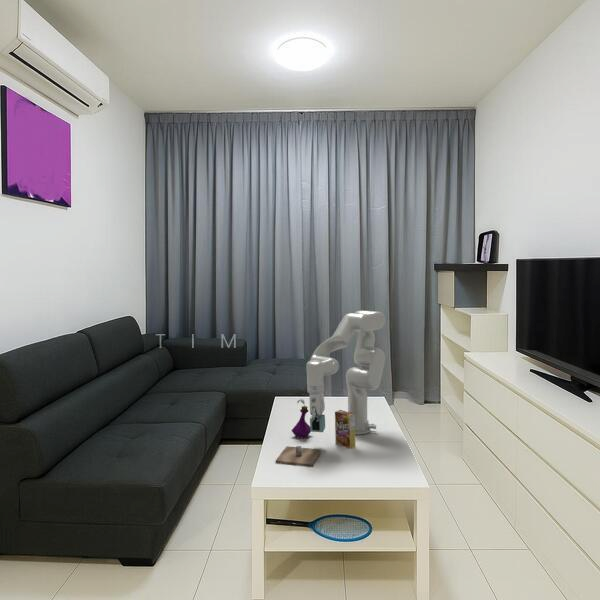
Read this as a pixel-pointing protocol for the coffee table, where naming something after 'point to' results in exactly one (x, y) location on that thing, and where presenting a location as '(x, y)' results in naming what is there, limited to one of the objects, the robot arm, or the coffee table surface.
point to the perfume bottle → (302, 424)
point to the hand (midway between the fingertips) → (317, 426)
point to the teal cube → (321, 423)
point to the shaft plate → (298, 456)
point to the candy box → (345, 428)
